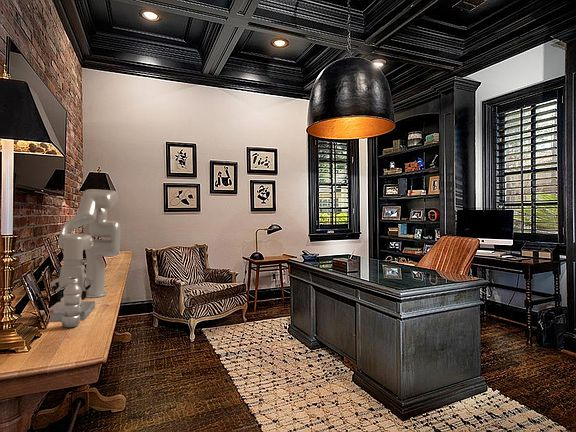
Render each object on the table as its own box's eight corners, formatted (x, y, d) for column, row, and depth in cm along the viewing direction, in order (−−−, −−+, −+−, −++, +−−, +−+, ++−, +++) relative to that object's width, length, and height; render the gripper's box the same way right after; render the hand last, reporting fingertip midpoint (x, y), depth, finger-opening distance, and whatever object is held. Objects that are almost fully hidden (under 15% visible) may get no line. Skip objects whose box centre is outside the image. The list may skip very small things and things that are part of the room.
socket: (57, 309, 171) (57, 301, 171) (94, 308, 176) (95, 300, 176) (42, 321, 152) (42, 312, 152) (84, 320, 157) (84, 311, 157)
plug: (67, 309, 169) (68, 293, 169) (81, 309, 171) (82, 293, 171) (59, 316, 159) (60, 298, 159) (75, 315, 161) (76, 298, 161)
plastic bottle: (57, 327, 146) (60, 278, 146) (74, 323, 152) (76, 276, 152) (67, 330, 143) (69, 280, 143) (83, 326, 149) (85, 278, 149)
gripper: (95, 261, 170) (94, 297, 171) (54, 261, 165) (52, 297, 166) (92, 264, 163) (90, 301, 164) (48, 264, 158) (47, 302, 158)
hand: (71, 299), depth 165 cm, fingers open, 9 cm apart
